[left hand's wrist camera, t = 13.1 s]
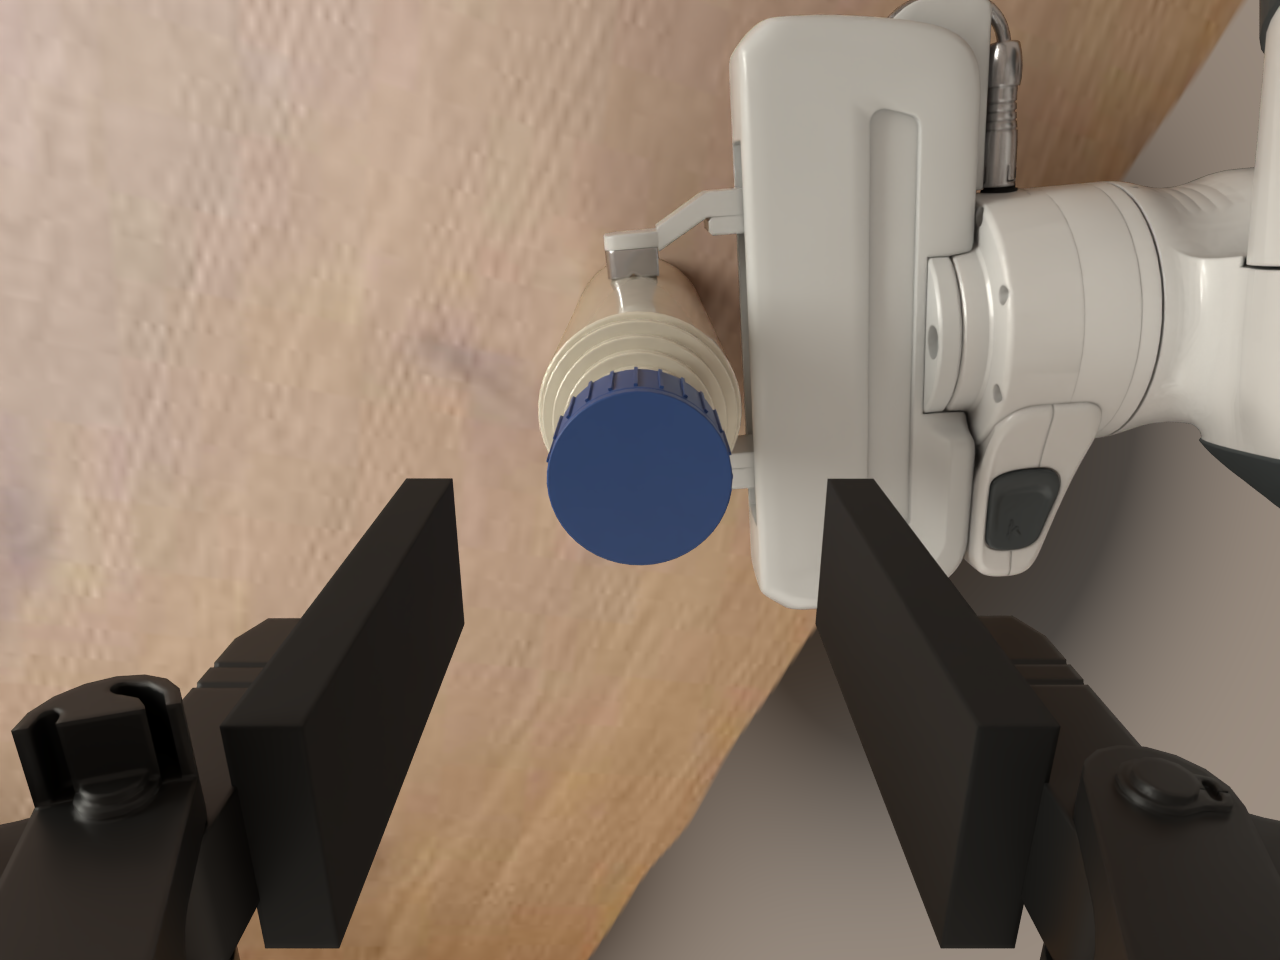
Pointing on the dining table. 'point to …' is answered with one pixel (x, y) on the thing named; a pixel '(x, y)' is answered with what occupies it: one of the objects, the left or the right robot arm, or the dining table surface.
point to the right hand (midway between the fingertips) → (615, 354)
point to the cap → (639, 467)
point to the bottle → (640, 344)
